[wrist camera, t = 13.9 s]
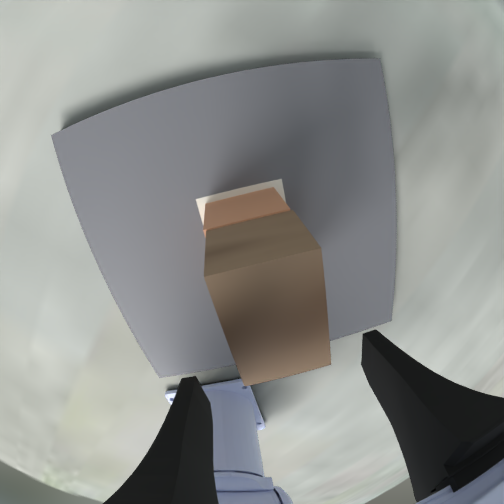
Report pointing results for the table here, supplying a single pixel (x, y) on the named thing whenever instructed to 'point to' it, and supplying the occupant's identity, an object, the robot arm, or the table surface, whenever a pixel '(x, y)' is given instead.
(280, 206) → the brick terracotta
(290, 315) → the brick walnut
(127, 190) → the tower board
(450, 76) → the table surface
